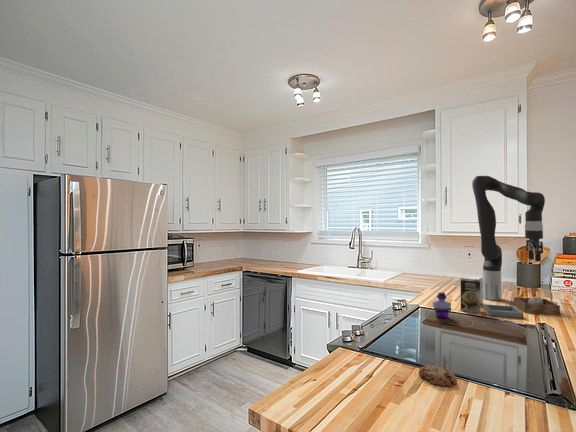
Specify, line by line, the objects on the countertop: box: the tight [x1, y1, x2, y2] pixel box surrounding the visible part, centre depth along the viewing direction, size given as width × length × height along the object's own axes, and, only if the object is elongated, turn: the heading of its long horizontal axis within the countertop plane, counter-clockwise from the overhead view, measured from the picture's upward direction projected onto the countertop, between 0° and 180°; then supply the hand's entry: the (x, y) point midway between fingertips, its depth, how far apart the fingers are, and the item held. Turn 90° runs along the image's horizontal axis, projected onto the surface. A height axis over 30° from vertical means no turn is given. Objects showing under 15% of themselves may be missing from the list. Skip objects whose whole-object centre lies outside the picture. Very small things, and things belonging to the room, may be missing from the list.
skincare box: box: [466, 275, 484, 305], centre depth 183 cm, size 8×6×15 cm
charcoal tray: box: [482, 303, 524, 319], centre depth 162 cm, size 14×14×3 cm
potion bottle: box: [432, 291, 452, 320], centre depth 157 cm, size 9×9×12 cm
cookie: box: [418, 364, 458, 388], centre depth 96 cm, size 10×11×3 cm
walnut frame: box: [513, 296, 561, 316], centre depth 169 cm, size 15×15×4 cm
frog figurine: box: [528, 296, 543, 304], centre depth 169 cm, size 6×7×7 cm
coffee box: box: [459, 278, 481, 314], centre depth 169 cm, size 9×6×16 cm
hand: (534, 260), depth 170 cm, fingers open, 8 cm apart
